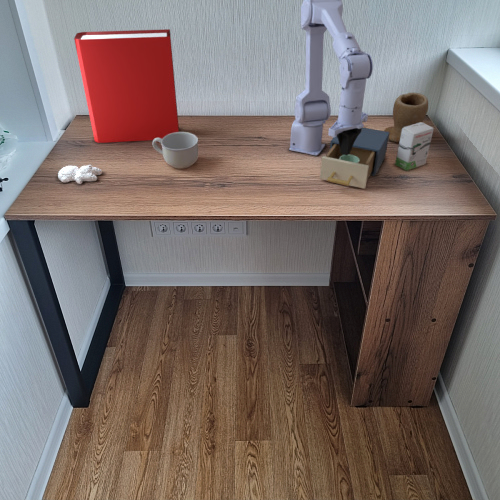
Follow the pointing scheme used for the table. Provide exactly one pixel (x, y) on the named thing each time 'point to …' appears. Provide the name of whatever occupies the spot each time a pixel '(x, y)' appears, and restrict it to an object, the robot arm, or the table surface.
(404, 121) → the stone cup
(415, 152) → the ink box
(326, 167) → the drawer
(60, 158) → the table surface
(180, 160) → the teacup
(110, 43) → the book
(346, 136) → the robot arm
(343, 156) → the cup
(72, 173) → the white plush toy
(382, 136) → the cabinet
